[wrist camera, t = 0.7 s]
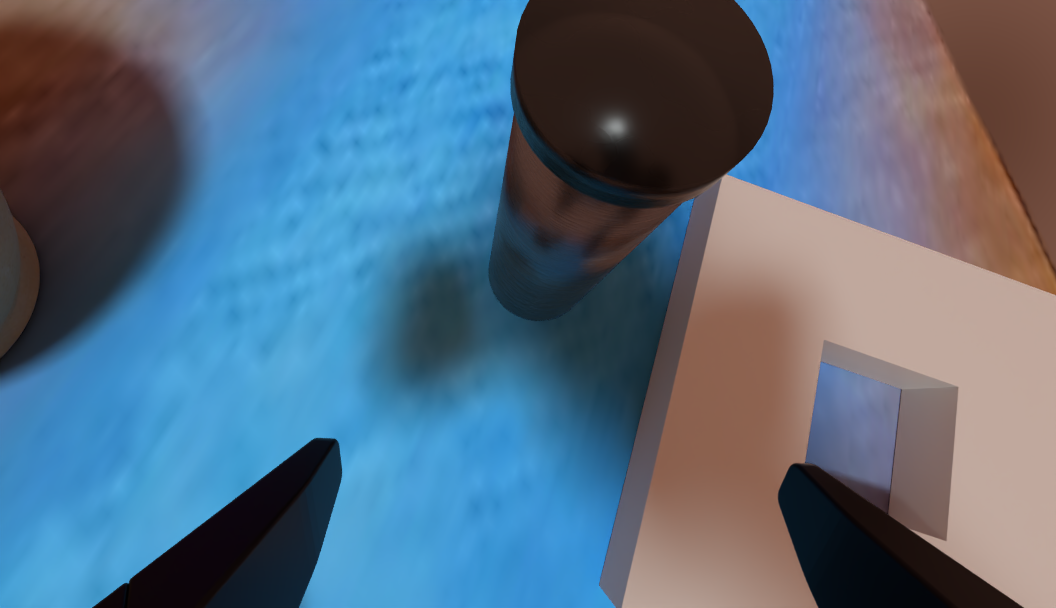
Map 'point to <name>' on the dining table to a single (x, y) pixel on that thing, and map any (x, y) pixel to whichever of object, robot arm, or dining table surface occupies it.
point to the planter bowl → (15, 277)
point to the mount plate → (789, 393)
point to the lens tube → (616, 134)
